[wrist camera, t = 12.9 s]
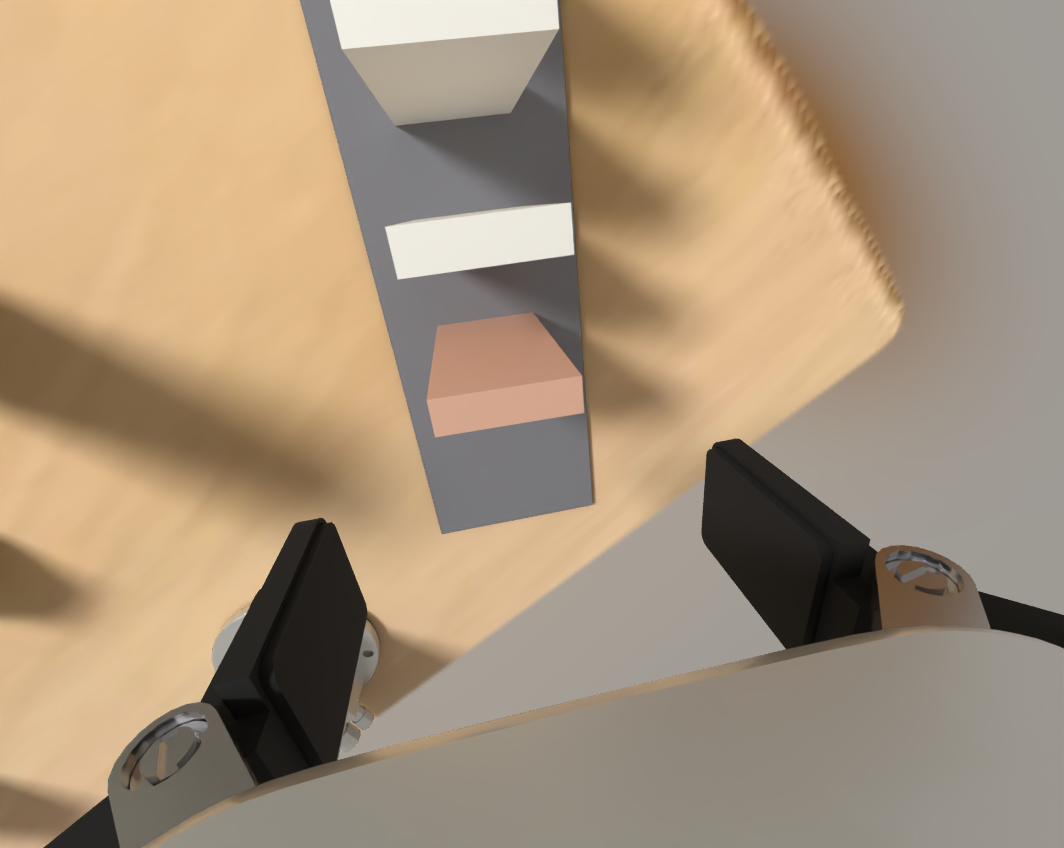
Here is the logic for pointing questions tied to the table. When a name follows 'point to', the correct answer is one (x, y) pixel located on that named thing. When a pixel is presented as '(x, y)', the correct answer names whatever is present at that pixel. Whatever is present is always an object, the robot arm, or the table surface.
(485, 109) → the domino
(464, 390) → the domino
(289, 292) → the table surface
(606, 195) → the table surface
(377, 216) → the rubber mat
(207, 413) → the table surface
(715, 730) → the robot arm
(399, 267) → the domino
